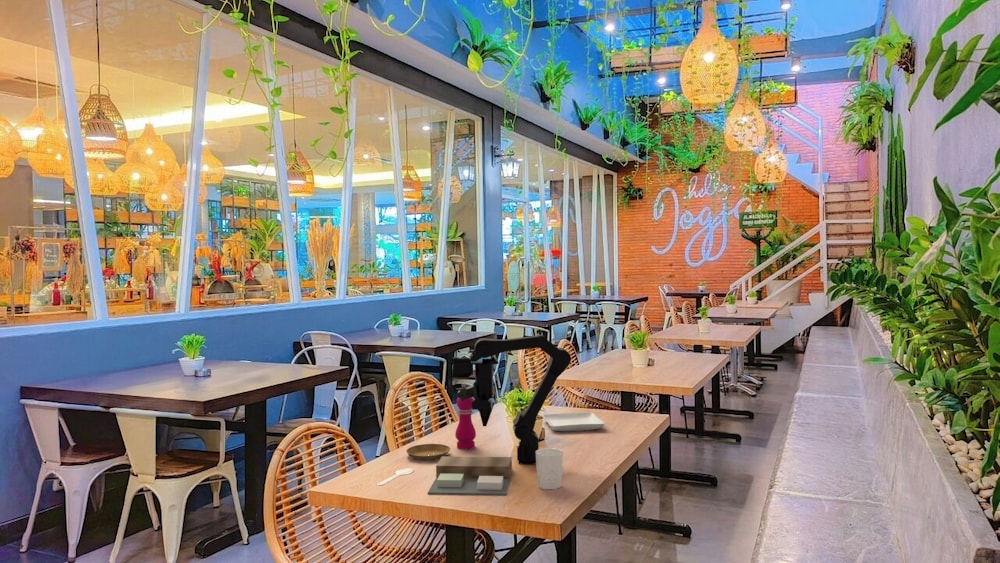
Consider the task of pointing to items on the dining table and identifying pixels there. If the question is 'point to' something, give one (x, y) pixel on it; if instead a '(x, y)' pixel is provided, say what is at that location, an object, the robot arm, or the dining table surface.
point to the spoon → (398, 473)
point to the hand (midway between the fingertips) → (484, 426)
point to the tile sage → (450, 480)
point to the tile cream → (490, 482)
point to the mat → (467, 488)
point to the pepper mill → (465, 425)
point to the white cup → (549, 467)
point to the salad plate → (573, 421)
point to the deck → (475, 466)
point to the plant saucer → (428, 452)
